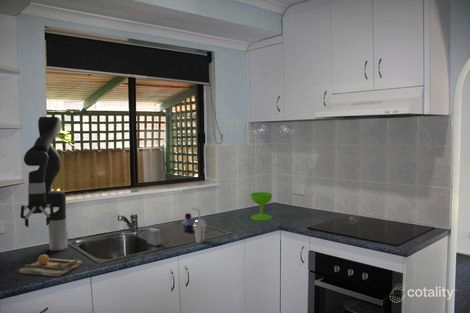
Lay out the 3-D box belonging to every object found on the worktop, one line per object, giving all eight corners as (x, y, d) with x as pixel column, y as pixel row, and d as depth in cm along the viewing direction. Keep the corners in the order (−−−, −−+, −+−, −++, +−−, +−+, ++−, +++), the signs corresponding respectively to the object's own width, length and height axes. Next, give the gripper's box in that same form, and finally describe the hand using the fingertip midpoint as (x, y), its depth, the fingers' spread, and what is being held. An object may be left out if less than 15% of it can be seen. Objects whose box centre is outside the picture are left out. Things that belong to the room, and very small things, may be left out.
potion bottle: (180, 233, 253) (179, 214, 252) (183, 229, 262) (183, 212, 261) (193, 233, 252) (192, 215, 251) (196, 229, 261) (195, 212, 260)
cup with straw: (197, 244, 228) (196, 210, 226) (189, 241, 235) (189, 208, 233) (209, 241, 233) (209, 208, 231) (201, 238, 240) (201, 206, 238)
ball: (43, 262, 196) (42, 252, 196) (51, 263, 195) (51, 253, 194) (35, 265, 191) (35, 255, 191) (44, 266, 190) (43, 256, 190)
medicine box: (161, 244, 229) (160, 229, 229) (154, 246, 226) (154, 231, 226) (153, 241, 235) (152, 227, 234) (146, 243, 231) (146, 229, 231)
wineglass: (261, 214, 304) (261, 191, 303) (276, 217, 292) (276, 194, 291) (246, 217, 294) (246, 194, 293) (261, 221, 282) (260, 196, 281)
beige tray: (45, 260, 203) (44, 254, 203) (81, 264, 197) (81, 257, 197) (19, 272, 186) (19, 265, 186) (58, 276, 181) (58, 269, 181)
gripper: (52, 191, 196) (52, 223, 196) (19, 193, 189) (20, 226, 188) (53, 191, 190) (54, 225, 189) (20, 193, 182) (21, 228, 182)
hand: (37, 226), depth 189 cm, fingers open, 8 cm apart
